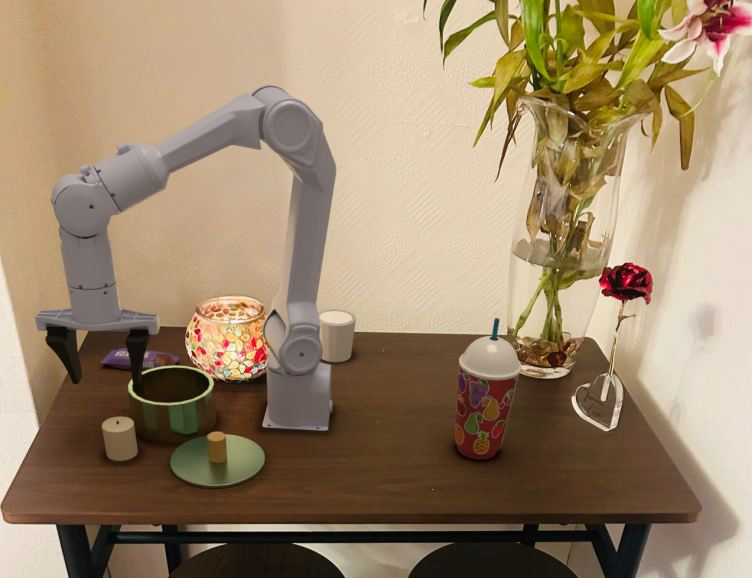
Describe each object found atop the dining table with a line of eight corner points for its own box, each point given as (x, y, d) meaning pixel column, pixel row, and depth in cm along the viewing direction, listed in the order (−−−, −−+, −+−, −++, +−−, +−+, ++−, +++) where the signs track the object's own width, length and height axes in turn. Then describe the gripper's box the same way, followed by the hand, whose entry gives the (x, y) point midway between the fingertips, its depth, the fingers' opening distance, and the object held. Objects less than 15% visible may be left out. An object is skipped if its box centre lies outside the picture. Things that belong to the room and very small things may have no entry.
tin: (222, 406, 116) (220, 367, 113) (208, 447, 107) (204, 407, 103) (145, 401, 116) (140, 363, 112) (123, 442, 107) (117, 402, 103)
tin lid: (270, 443, 109) (270, 414, 106) (258, 494, 99) (257, 465, 96) (182, 438, 108) (179, 409, 106) (160, 489, 98) (156, 459, 96)
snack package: (98, 357, 123) (111, 344, 127) (100, 368, 124) (112, 355, 128) (169, 365, 122) (179, 351, 126) (170, 376, 123) (180, 362, 127)
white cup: (314, 346, 136) (314, 308, 132) (353, 346, 136) (354, 309, 132) (315, 363, 130) (315, 324, 126) (356, 364, 131) (357, 325, 127)
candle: (141, 448, 106) (137, 414, 103) (133, 465, 102) (128, 430, 99) (112, 447, 105) (106, 412, 102) (103, 463, 102) (97, 428, 99)
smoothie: (511, 441, 113) (534, 313, 102) (499, 471, 106) (523, 337, 95) (456, 429, 115) (473, 302, 104) (440, 457, 108) (457, 324, 97)
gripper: (159, 271, 97) (169, 368, 105) (40, 267, 96) (59, 365, 104) (148, 292, 91) (160, 393, 99) (21, 288, 90) (43, 390, 98)
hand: (107, 381), depth 101 cm, fingers open, 7 cm apart
